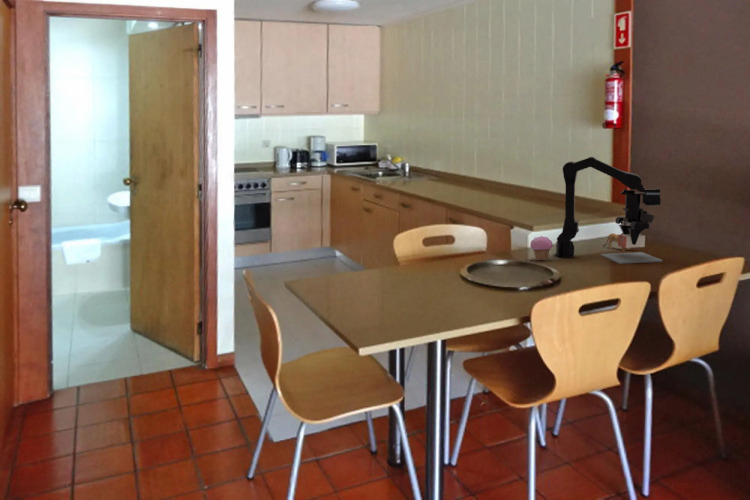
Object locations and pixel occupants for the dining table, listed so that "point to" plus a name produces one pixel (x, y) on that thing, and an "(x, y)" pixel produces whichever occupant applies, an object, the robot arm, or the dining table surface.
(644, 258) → the mat
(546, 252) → the cupcake
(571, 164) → the robot arm
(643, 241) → the beige rectangular block
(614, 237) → the lion figurine
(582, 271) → the dining table surface
